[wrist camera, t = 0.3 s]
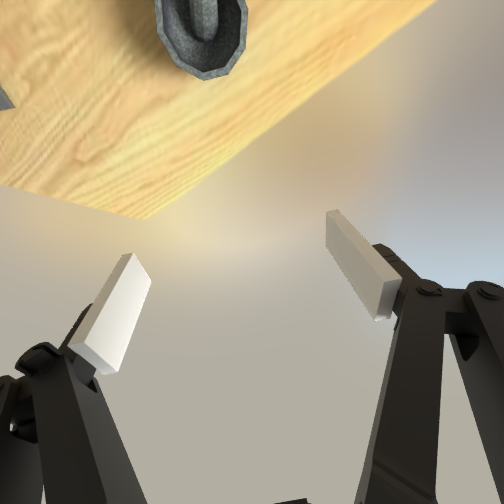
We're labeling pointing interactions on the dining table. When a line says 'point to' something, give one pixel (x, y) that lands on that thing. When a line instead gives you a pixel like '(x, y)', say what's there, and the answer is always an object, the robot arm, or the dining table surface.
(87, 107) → the dining table surface
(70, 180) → the dining table surface
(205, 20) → the mortar and pestle
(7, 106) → the holder
